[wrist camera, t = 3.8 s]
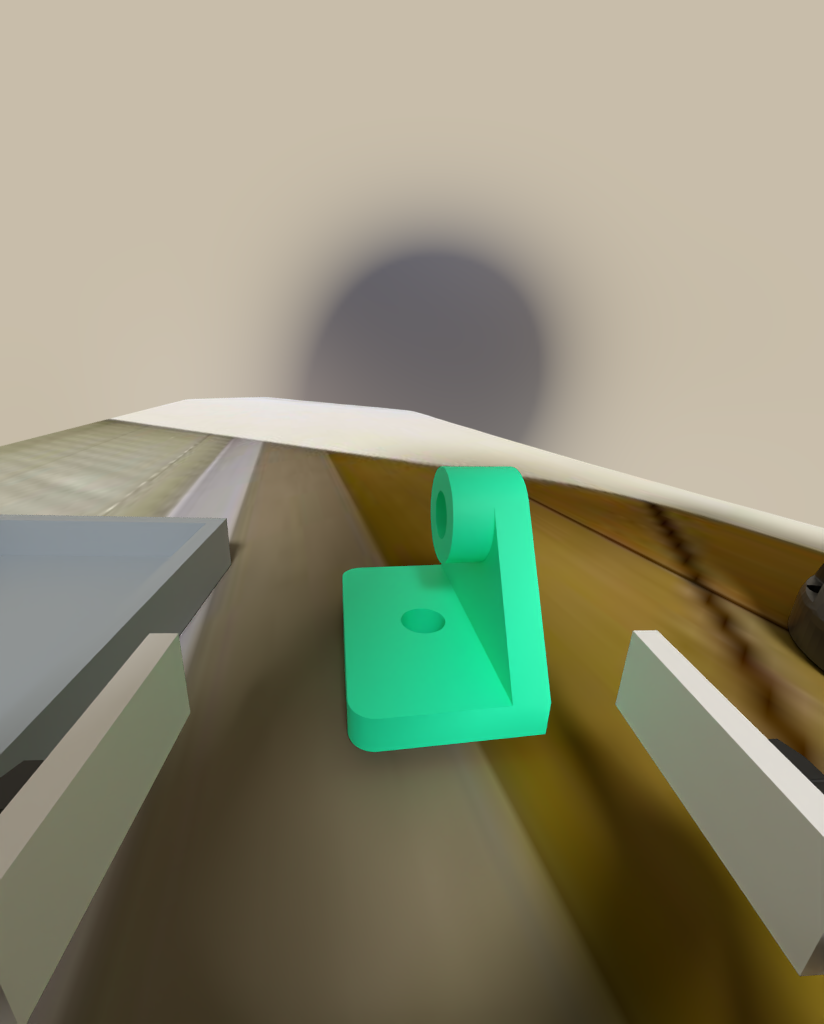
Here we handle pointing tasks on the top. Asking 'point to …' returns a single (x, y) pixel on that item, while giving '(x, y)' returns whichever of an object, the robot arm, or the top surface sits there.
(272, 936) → the top surface
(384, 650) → the camera mount
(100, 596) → the tray
